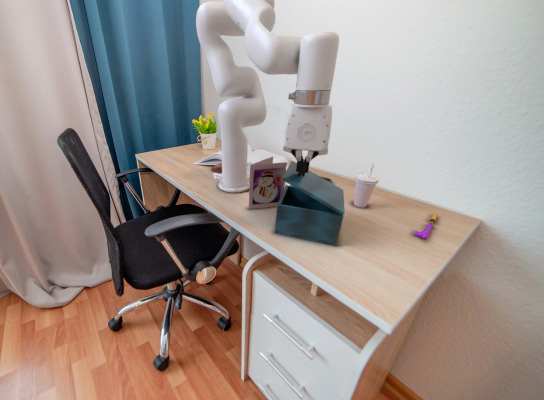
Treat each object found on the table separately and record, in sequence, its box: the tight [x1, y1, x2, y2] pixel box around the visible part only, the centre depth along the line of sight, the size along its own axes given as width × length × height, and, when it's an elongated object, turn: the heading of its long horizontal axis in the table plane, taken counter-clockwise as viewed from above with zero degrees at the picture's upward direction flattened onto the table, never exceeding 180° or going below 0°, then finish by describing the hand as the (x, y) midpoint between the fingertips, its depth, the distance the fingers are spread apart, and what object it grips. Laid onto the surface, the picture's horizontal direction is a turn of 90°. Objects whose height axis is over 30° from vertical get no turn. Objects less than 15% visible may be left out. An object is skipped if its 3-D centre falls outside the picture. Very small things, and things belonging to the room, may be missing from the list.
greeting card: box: [248, 156, 288, 210], centre depth 78 cm, size 11×7×15 cm, turn 99°
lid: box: [282, 160, 346, 216], centre depth 63 cm, size 16×14×1 cm
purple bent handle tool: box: [414, 214, 438, 240], centre depth 67 cm, size 3×1×16 cm
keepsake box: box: [274, 184, 344, 247], centre depth 67 cm, size 16×14×9 cm
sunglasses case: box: [210, 161, 222, 174], centre depth 113 cm, size 18×7×7 cm, turn 140°
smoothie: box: [353, 163, 380, 208], centre depth 76 cm, size 6×6×14 cm
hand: (301, 174), depth 63 cm, fingers closed
